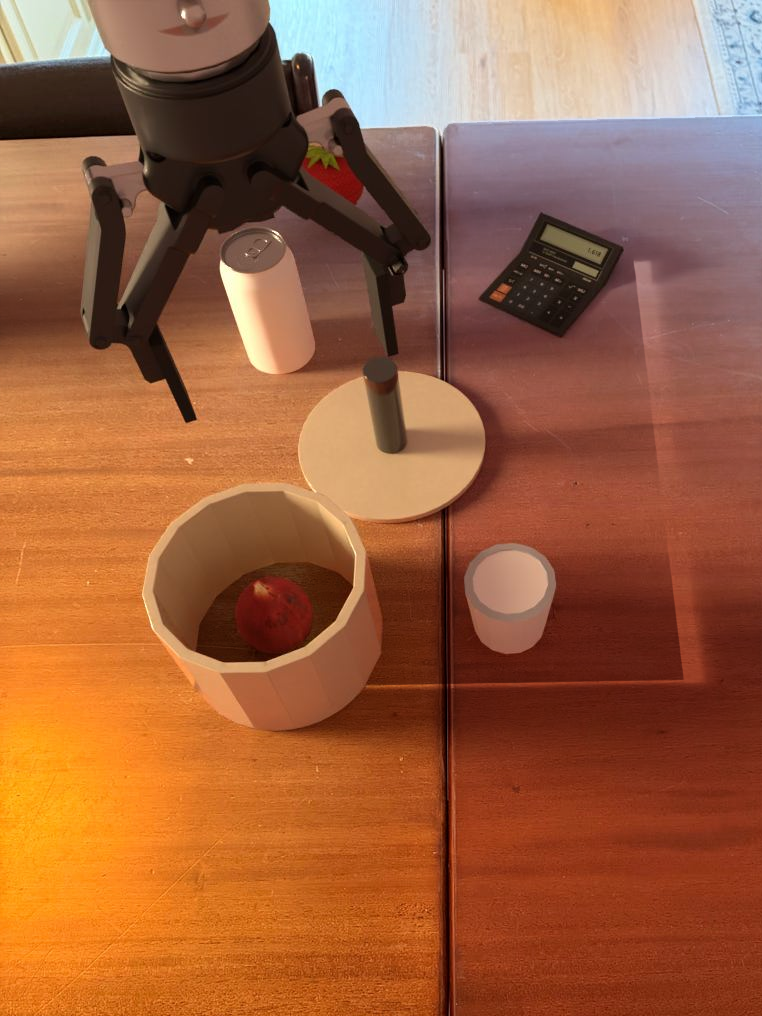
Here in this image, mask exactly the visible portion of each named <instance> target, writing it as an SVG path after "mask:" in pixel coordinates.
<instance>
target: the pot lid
mask: <svg viewBox="0 0 762 1016" xmlns="http://www.w3.org/2000/svg"><path fill="white" fill-rule="evenodd" d="M361 371H362V376H359V377H357V378H354V379H352V380H348V381H347V382H345V383H343V384H341V385H339V386H338V387H336V388H334V389H333V390H332V391H330V392H329V393H328V394H326V395H325V396H324V397H323V398H322V399H321V400H320V401H319V402H318V403H317V404H316V405H315V406H314V407H313V409H312V410H311V412H310V413H309V414H308V416H307V418H306V419H305V421H304V423H303V426H302V428H301V431H300V434H299V440H298V445H297V446H298V447H297V449H298V450H297V453H298V454H297V455H298V461H299V466H300V469H301V472H302V476H303V477H304V480H305V482H306V484H307V486H308V487H309V488H310V489H311V491H314V492H317V493H320V494H323V495H325V496H326V497H327V498H328V499H330V500H331V501H332V502H333V503H334V504H335V505H337V506H338V507H339V508H340V509H341V510H342V511H344V512H345V513H346V514H347V515H348V516H349V517H351V518H352V519H356V520H359V521H363V522H366V523H367V522H369V523H375V524H398V523H405V522H412V521H416V520H419V519H423V518H426V517H428V516H432V515H433V514H436V513H438V512H440V511H441V510H444V509H446V508H447V507H448V506H450V505H451V504H453V503H454V502H455V501H457V500H458V499H459V498H460V497H461V496H463V494H465V493H466V492H467V490H468V489H469V488H470V487H471V486H472V485H473V483H474V481H475V480H476V478H477V476H479V473H480V471H481V469H482V466H483V463H484V460H485V455H486V445H487V441H486V431H485V426H484V423H483V420H482V418H481V415H480V414H479V411H478V410H477V408H476V407H475V405H474V404H473V403H472V401H471V400H470V399H469V398H468V397H467V396H466V394H464V393H462V391H460V390H459V389H458V388H456V387H454V386H453V385H452V384H450V383H449V382H446V381H445V380H442V379H440V378H437V377H434V376H432V375H429V374H425V373H421V372H417V371H416V372H414V371H405V370H399V369H398V365H397V363H396V362H395V360H393V359H392V358H391V357H388V356H374V357H371V358H369V359H368V360H367V361H366V362H365V363H364V365H363V366H362V370H361Z"/></svg>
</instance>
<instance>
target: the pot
mask: <svg viewBox="0 0 762 1016" xmlns="http://www.w3.org/2000/svg"><path fill="white" fill-rule="evenodd" d="M293 563H294V564H295V563H309V564H313V565H315V566H318V567H321V568H324V569H328V570H329V571H333V572H335V573H338V574H339V575H340V576H341V577H343V578H344V579H345V580H346V581H347V582H348V583H349V584H350V585H352V587H353V588H352V589H351V592H349V595H348V597H347V599H346V600H345V603H344V605H343V606H342V608H341V610H340V612H339V614H338V616H337V617H336V619H335V621H334V622H333V623H331V624H329V626H328V627H327V628H325V630H323V631H322V632H321V633H320V634H318V636H316V637H315V638H313V640H311V641H310V642H309V643H308V644H307V645H305V646H304V647H301V648H298V649H296V650H293V651H289V652H287V653H284V654H282V655H280V656H277V657H274V658H272V659H269V660H267V661H241V662H240V661H239V662H234V661H233V662H224V661H221V660H218V659H216V658H213V657H211V656H208V655H204V654H203V653H200V652H198V651H197V644H198V636H199V632H200V631H199V630H200V624H201V623H202V620H203V619H204V617H205V616H206V614H207V613H208V611H209V609H210V607H211V606H212V604H213V603H214V601H215V599H216V597H217V596H218V595H220V594H221V593H222V592H223V591H224V590H226V589H227V588H228V587H230V586H231V585H233V583H234V582H236V581H237V580H239V579H240V578H241V577H242V576H243V575H246V574H249V573H251V572H254V571H258V570H259V569H262V568H265V567H268V566H271V565H273V564H293ZM141 595H142V599H143V603H144V605H145V609H146V612H147V616H148V620H149V623H150V626H151V629H152V631H153V633H154V635H156V637H157V638H158V640H159V641H160V642H161V643H162V645H163V646H164V648H165V649H166V650H167V652H168V654H169V655H170V657H171V658H172V659H173V660H174V662H175V664H176V665H177V666H178V668H179V669H180V670H181V672H182V673H183V674H184V676H185V677H186V678H187V680H188V681H189V683H190V684H191V685H192V687H193V688H194V690H195V691H196V692H197V693H198V694H199V695H200V696H201V697H202V698H203V699H204V700H205V702H207V704H208V705H209V706H210V708H212V709H213V710H214V711H215V712H216V713H217V714H218V715H220V716H222V717H224V718H226V719H227V720H229V721H232V722H233V723H236V724H238V725H240V726H244V727H247V728H250V729H255V730H261V731H274V732H275V731H276V732H277V731H278V732H279V731H280V732H281V731H291V730H297V729H301V728H305V727H308V726H312V725H315V724H318V723H319V722H322V721H324V720H326V719H328V718H330V717H332V716H334V715H335V714H336V713H338V712H340V711H342V710H343V709H344V708H345V707H346V706H347V705H349V704H350V703H351V702H353V700H354V699H355V698H356V697H357V696H359V694H360V693H361V692H362V691H363V690H364V688H365V687H366V685H367V682H368V680H369V678H370V676H371V674H372V672H373V670H374V668H375V666H376V664H377V662H378V660H379V658H380V657H381V654H382V645H383V641H382V640H383V622H384V621H383V619H384V618H383V614H382V610H381V605H380V602H379V598H378V594H377V590H376V585H375V581H374V577H373V572H372V569H371V564H370V561H369V556H368V552H367V550H366V547H365V545H364V543H363V540H362V538H361V536H360V534H359V531H358V529H357V527H356V524H355V522H354V520H353V518H351V517H349V516H348V515H347V514H346V513H345V512H344V511H342V510H341V509H340V508H339V507H338V506H337V505H335V504H334V503H333V502H332V501H331V500H330V499H328V498H327V497H326V496H325V495H323V494H320V493H317V492H314V491H312V489H311V490H310V489H307V488H304V487H301V486H299V485H295V484H292V483H289V482H253V483H252V482H251V483H248V482H247V483H246V482H245V483H242V484H239V485H235V486H233V487H230V488H227V489H225V490H222V491H218V492H216V493H213V494H211V495H207V496H205V497H203V498H201V500H199V501H197V502H196V503H195V504H194V505H192V506H190V507H189V508H188V509H187V510H186V511H184V512H183V513H182V514H180V515H179V516H178V517H176V518H175V519H174V520H172V521H171V522H170V524H169V525H168V526H167V528H166V530H165V531H164V532H163V534H162V535H161V537H160V538H159V540H158V541H157V543H156V544H155V546H154V548H153V549H152V551H151V552H150V553H149V555H148V559H147V566H146V570H145V576H144V582H143V586H142V593H141ZM196 651H197V652H196Z"/></svg>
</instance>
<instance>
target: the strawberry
mask: <svg viewBox="0 0 762 1016" xmlns="http://www.w3.org/2000/svg"><path fill="white" fill-rule="evenodd" d="M302 167H303V168H304V169H305V170H306V171H307V172H308V173H309V174H310V175H311V176H312V177H314V178H315V179H317V180H318V181H320V182H321V183H323V184H324V185H326V186H327V187H329V188H330V189H332V190H333V191H335V192H336V193H338V194H339V195H341V196H342V197H344V198H345V199H347V200H348V201H350V202H351V203H353V204H354V205H355V206H357V205H358V202H359V201H360V199H361V197H362V196H363V192H364V188H365V187H364V186H363V185H362V183H361V182H360V181H359V180H358V178H357V177H356V176H355V175H354V173H353V172H352V170H351V169H350V168H349V166H348V164H347V162H346V160H345V158H344V157H343V155H341V156H335V155H334V154H330V153H327V152H326V151H325V150H324V148H323V147H322V145H311V144H309V148H308V152H307V155H306V157H305V159H304V161H303V164H302Z"/></svg>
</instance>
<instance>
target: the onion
mask: <svg viewBox="0 0 762 1016" xmlns="http://www.w3.org/2000/svg"><path fill="white" fill-rule="evenodd" d="M234 616H235V626H236V629H237V632H238V633H239V634H240V636H241V638H242V640H243V641H244V642H245V644H247V645H249V646H250V647H252V648H254V649H255V650H257V651H258V652H260V653H261V652H262V653H266V654H272V655H276V654H286V653H289V652H291V651H292V650H294V649H296V648H298V647H299V646H300V645H301V644H302V643H303V642H304V641H305V640H306V639H307V638H308V637H309V635H310V633H311V631H312V628H313V624H314V622H315V619H314V611H313V606H312V601H311V599H310V597H309V595H308V594H307V593H306V592H305V591H304V590H303V589H302V587H300V585H298V584H297V583H295V582H294V581H292V580H291V579H287V578H286V577H283V576H274V575H273V576H271V575H269V576H266V577H265V576H264V577H259V578H257V579H255V580H254V581H252V582H250V583H249V584H248V585H246V587H245V588H244V590H243V591H242V592H240V595H239V596H238V598H237V602H236V605H235V609H234Z"/></svg>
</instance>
